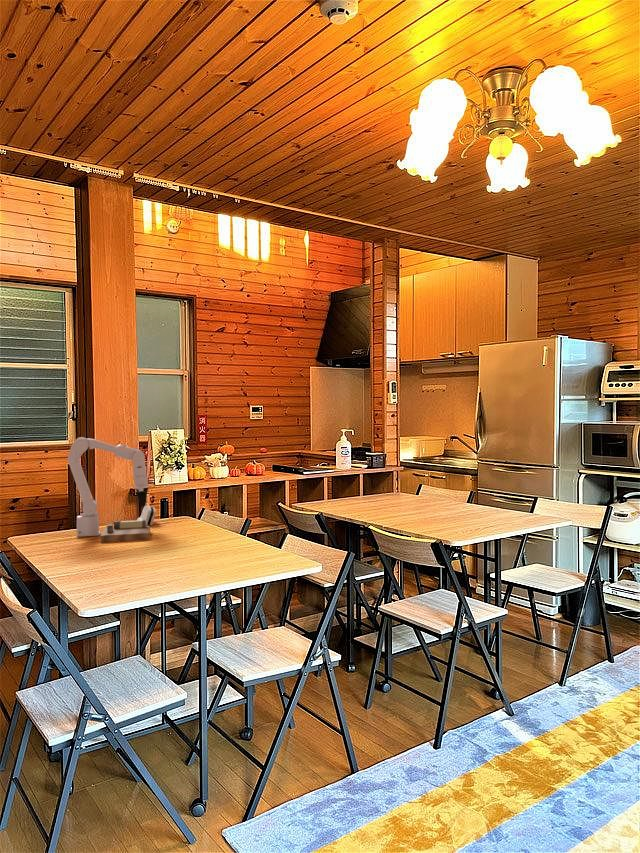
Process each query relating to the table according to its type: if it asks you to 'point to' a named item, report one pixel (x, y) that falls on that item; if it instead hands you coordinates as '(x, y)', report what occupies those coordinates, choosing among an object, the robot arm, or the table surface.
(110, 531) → the grey flat base
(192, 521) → the table surface
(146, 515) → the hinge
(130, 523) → the folding leg
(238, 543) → the table surface
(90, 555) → the table surface
